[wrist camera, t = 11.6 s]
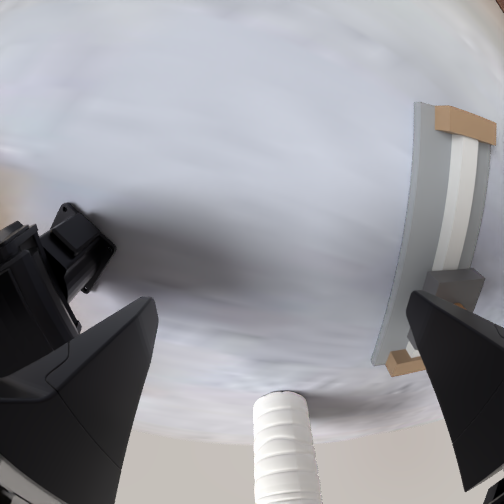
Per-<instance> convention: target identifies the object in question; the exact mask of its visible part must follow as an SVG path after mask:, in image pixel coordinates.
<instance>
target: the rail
mask: <svg viewBox="0 0 504 504" xmlns="http://www.w3.org/2000/svg"><path fill="white" fill-rule="evenodd" d="M491 145H495V146H496V123H495V122H492V121H490V120H488V119H485V118H483V117H480V116H478V115H475V114H472V113H470V112H467V111H464V110H461V109H458V108H455V107H452V106H433V105H430V104H426V103H422V102H415V103H414V139H413V157H412V170H411V181H410V191H409V199H408V207H407V214H406V221H405V227H404V233H403V239H402V244H401V250H400V255H399V260H398V264H397V269H396V274H395V278H394V282H393V287H392V291H391V295H390V298H389V302H388V306H387V310H386V313H385V317H384V320H383V324H382V327H381V330H380V334H379V337H378V340H377V343H376V346H375V349H374V352H373V355H372V358H371V362H372V364H373V366H379V365H386V367H387V369H388V371H389V373H390V375H391V377H394V376H399V375H404V374H409V373H413V372H418V371H422V370H426V368H425V366H424V363H423V361H422V359H421V356H420V354H419V352H418V350H415V349H414V348H413V346H412V344H411V343H410V341H409V340H408V338H407V335H408V332H409V329H410V325H409V323H408V320H407V317H406V308H407V304H408V301H409V298H410V294H411V292H412V291H413V290H422V289H423V286H424V282H425V278H426V275H427V271H440V270H455V269H470V265H471V262H472V258H473V254H474V251H475V247H476V243H477V238H478V234H479V230H480V225H481V220H482V215H483V209H484V203H485V197H486V190H487V183H488V174H489V164H490V150H491Z"/></svg>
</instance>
